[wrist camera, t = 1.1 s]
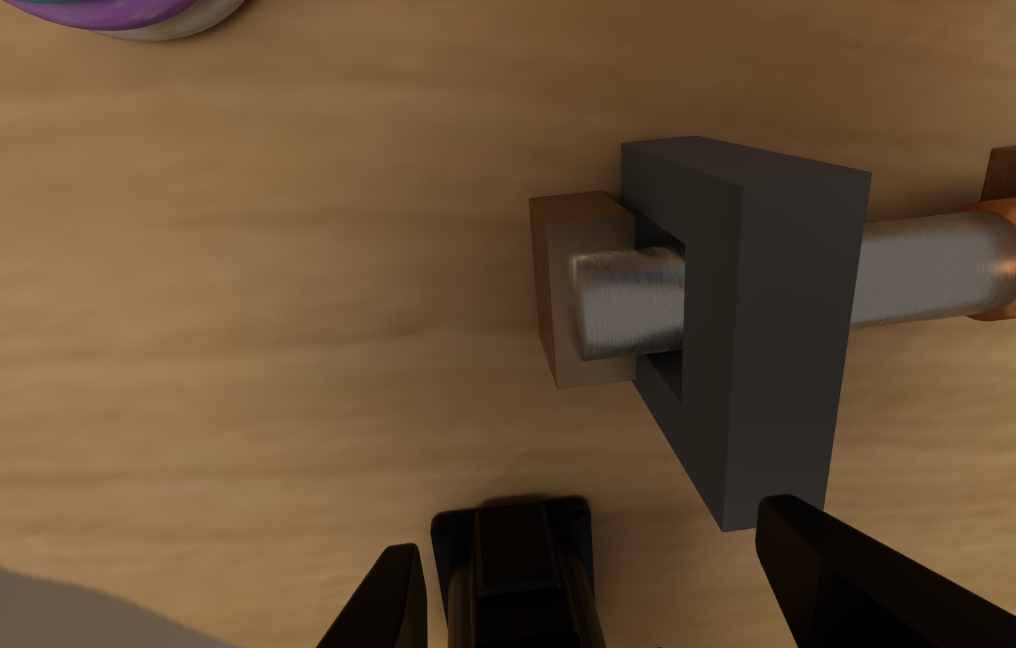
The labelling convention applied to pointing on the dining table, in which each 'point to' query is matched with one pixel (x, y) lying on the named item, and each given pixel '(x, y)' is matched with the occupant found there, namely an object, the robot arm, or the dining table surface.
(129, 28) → the stacking toy
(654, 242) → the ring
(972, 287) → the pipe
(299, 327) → the dining table surface
